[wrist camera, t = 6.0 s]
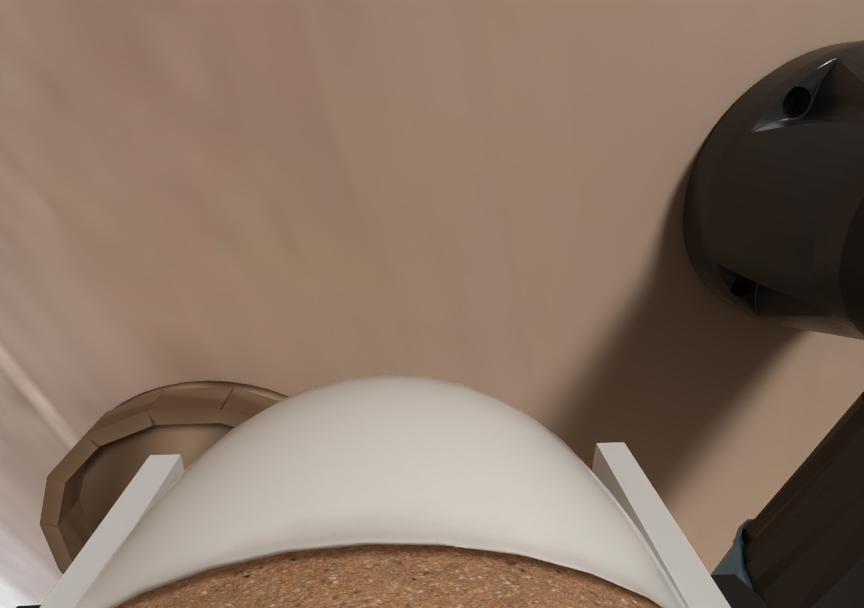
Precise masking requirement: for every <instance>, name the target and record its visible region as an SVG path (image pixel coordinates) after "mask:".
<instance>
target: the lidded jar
mask: <svg viewBox="0 0 864 608" xmlns="http://www.w3.org/2000/svg"><path fill="white" fill-rule="evenodd" d="M75 608H686V606H685V605H684V603H683V601H682V600H681V598H680V596H679V595H678V593H677V591H676V590H675V588H674V586H673V584H672V583H671V581H670V579H669V578H668V576H667V574H666V573H665V571H664V570H663V568H662V566H661V565H660V563H659V561H658V560H657V558H656V556H655V555H654V553H653V552H652V550H651V548H650V547H649V545H648V543H647V542H646V540H645V538H644V537H643V535H642V533H641V532H640V530H639V529H638V528H637V526H636V525H635V524H634V522H633V521H632V520H631V518H630V517H629V516H628V514H627V513H626V512H625V510H624V509H623V508H622V506H621V505H620V504H619V502H618V501H617V500H616V498H615V497H614V495H613V494H612V493H611V491H610V490H609V489H608V488H607V487H606V486H605V485H604V484H603V483H602V482H601V481H600V480H599V479H598V478H597V476H596V475H595V474H594V473H593V472H592V471H591V470H590V469H589V468H588V467H587V466H586V465H585V464H584V462H583V461H582V460H581V459H580V458H579V457H578V456H577V455H576V454H575V453H574V452H573V451H572V450H571V449H570V448H569V446H568V445H567V444H566V443H565V442H564V441H563V440H561V439H560V438H559V437H557V436H556V435H555V434H553V433H552V432H551V431H549V430H548V429H547V428H545V427H544V426H543V425H541V424H540V423H539V422H537V421H536V420H534V419H533V418H532V417H530V416H529V415H527V414H526V413H524V412H523V411H521V410H520V409H518V408H516V407H515V406H513V405H511V404H509V403H507V402H505V401H503V400H501V399H499V398H497V397H495V396H493V395H491V394H489V393H486V392H483V391H480V390H477V389H474V388H471V387H468V386H465V385H462V384H459V383H455V382H451V381H446V380H440V379H435V378H429V377H424V376H414V375H392V374H386V375H375V376H364V377H355V378H350V379H346V380H341V381H337V382H333V383H328V384H324V385H320V386H315V387H313V388H310V389H308V390H305V391H303V392H300V393H297V394H295V395H292V396H290V397H287V398H285V399H282V400H281V401H279V402H277V403H275V404H274V405H272V406H270V407H268V408H267V409H265V410H263V411H261V412H260V413H258V414H256V415H254V416H253V417H251V418H250V419H248V420H246V421H245V422H243V423H241V424H240V425H238V426H237V427H235V428H233V429H232V430H231V431H229V432H228V433H227V434H226V435H224V436H223V437H222V438H221V439H220V440H218V441H217V442H216V443H215V444H214V445H212V446H211V447H210V448H209V449H207V450H206V451H205V452H204V453H203V454H202V455H201V456H200V457H199V458H198V459H197V460H196V461H194V462H193V463H192V464H191V465H190V466H189V467H188V468H187V469H186V470H185V471H184V472H183V473H182V474H181V475H180V476H179V477H177V478H176V479H175V480H174V481H173V483H172V484H171V485H170V486H169V487H168V489H167V490H166V491H165V492H164V493H163V494H162V496H161V497H160V498H159V499H158V500H157V502H156V503H155V504H154V505H153V506H152V507H151V509H150V510H149V511H148V512H147V513H146V515H145V516H144V517H143V518H142V519H141V520H140V522H139V523H138V524H137V525H136V526H135V528H134V529H133V530H132V531H131V532H130V534H129V535H128V536H127V537H126V538H125V540H124V541H123V542H122V543H121V544H120V546H119V547H118V548H117V549H116V550H115V552H114V553H113V554H112V556H111V557H110V559H109V560H108V561H107V563H106V564H105V566H104V567H103V568H102V570H101V571H100V573H99V574H98V575H97V577H96V578H95V580H94V581H93V582H92V584H91V585H90V587H89V588H88V589H87V591H86V592H85V594H84V595H83V597H82V598H81V599H80V601H79V602H78V604H77V605H76V606H75Z"/></svg>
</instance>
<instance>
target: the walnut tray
mask: <svg viewBox="0 0 864 608" xmlns="http://www.w3.org/2000/svg"><path fill="white" fill-rule="evenodd" d="M287 397H288V396H285V395H282V394H280V393H277V392H274V391H271V390H268V389H264V388H260V387H256V386H252V385H247V384H240V383H233V382H222V381H197V382H184V383H178V384H173V385H168V386H163V387H159V388H156V389H153V390H150V391H147V392H144V393H141V394H139V395H137V396H135V397H133V398H131V399H129V400H127V401H125V402H123V403H122V404H120V405H119V406H117V407H116V408H114V409H113V410H110V411H108V412H107V413H105V414H104V415H103V416H102V417H101V418H100V420H99V421H98V422H97V423H96V424H95V425H94V426H93V427H92V428H91V429H90V430H89V431H88V432H87V433H86V434H85V435H84V436H83V438H82V439H81V440H80V441H79V442H78V443H77V444H76V445H75V446H74V447H73V449H72V450H71V451H70V452H69V453H68V454H67V455H66V456H65V457H64V458H63V460H62V461H61V462H60V463H59V464H58V465H57V466H56V467H55V468H54V469H53V471H52V472H51V473H50V474H49V475H48V477H47V482H46V488H45V495H44V501H43V507H42V513H41V520H40V526H41V528H42V531H43V533H44V535H45V538H46V540H47V542H48V545H49V547H50V549H51V552H52V554H53V557H54V559H55V561H56V564H57V566H58V568H59V570H60V571H61V572H62V573H63V574H64V573H65V572H66V570H67V569H68V568H69V566H70V565H71V564H72V562H73V561H74V559H75V558H76V557H77V555H78V554H79V552H80V551H81V550H82V548H83V547H84V546H85V544H86V543H87V541H88V540H89V539H90V537H91V536H92V535H93V533H94V532H95V530H96V529H97V528H98V526H99V525H100V523H101V522H102V521H103V519H104V518H105V517H106V515H107V514H108V512H109V511H110V510H111V508H112V507H113V506H114V504H115V503H116V501H117V500H118V499H119V497H120V496H121V494H122V493H123V492H124V490H125V489H126V488H127V486H128V485H129V483H130V482H131V481H132V479H133V478H134V477H135V475H136V474H137V472H138V471H139V470H140V468H141V467H142V465H143V464H144V463H145V461H146V460H147V459H148V457H149V456H150V455H174V454H181V458H182V462H183V466H184V470H186V469H187V468H188V467H189V466H190V465H191V464H192V463H193V462H194V461H196V460H197V459H198V458H199V457H200V456H201V455H202V454H203V453H204V452H205V451H206V450H207V449H209V448H210V447H211V446H212V445H214V444H215V443H216V442H217V441H218V440H220V439H221V438H222V437H223V436H224V435H226V434H227V433H228V432H229V431H231V430H232V429H233V428H235V427H237V426H238V425H240V424H241V423H243V422H245V421H246V420H248V419H250V418H251V417H253V416H254V415H256V414H258V413H260V412H261V411H263V410H265V409H267V408H268V407H270V406H272V405H274V404H275V403H277V402H279V401H281V400H282V399H285V398H287Z"/></svg>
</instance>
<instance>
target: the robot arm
mask: <svg viewBox="0 0 864 608" xmlns="http://www.w3.org/2000/svg"><path fill="white" fill-rule="evenodd" d="M684 235H685V242H686V247H687V251H688V254H689V257H690V260H691V262H692V265H693V266H694V268H695V270H696V272H697V274H698V275H699V277H700V278H701V280H702V281H703V282H704V283H705V285H706V286H707V287H708V288H709V289H710V290H711V291H712V292H714V293H715V294H716V295H717V296H719V297H720V298H722V299H723V300H725V301H726V302H728V303H730V304H731V305H733V306H735V307H736V308H738V309H739V310H741V311H743V312H745V313H746V314H748V315H750V316H752V317H755V318H757V319H760V320H762V321H765V322H768V323H772V324H775V325H780V326H786V327H792V328H798V329H803V330H809V331H815V332H821V333H827V334H832V335H838V336H844V337H850V338H855V339H861V340H864V40H863V41H855V42H847V43H840V44H835V45H830V46H827V47H823V48H820V49H817V50H814V51H811V52H808V53H806V54H804V55H801V56H799V57H797V58H795V59H793V60H791V61H789V62H787V63H786V64H784V65H782V66H781V67H779V68H777V69H776V70H774V71H773V72H771V73H770V74H768V75H767V76H765V77H764V78H763V79H762V80H760V81H759V82H758V83H756V84H755V85H754V86H753V87H752V88H751V89H750V90H748V91H747V92H746V93H745V94H744V95H743V96H742V97H741V98H740V99H739V100H738V101H737V102H736V103H735V104H734V105H733V107H732V108H731V109H730V110H729V111H728V112H727V114H726V115H725V116H724V117H723V119H722V120H721V121H720V123H719V124H718V125H717V127H716V128H715V130H714V131H713V133H712V134H711V136H710V138H709V139H708V141H707V143H706V144H705V146H704V148H703V150H702V152H701V154H700V156H699V158H698V160H697V163H696V165H695V168H694V170H693V173H692V176H691V179H690V182H689V186H688V190H687V195H686V200H685V208H684ZM184 471H185V470H184V466H183V462H182V458H181V454H174V455H150V456H149V457H148V459H147V460H146V461H145V463H144V464H143V465H142V467H141V468H140V470H139V471H138V472H137V474H136V475H135V477H134V478H133V479H132V481H131V482H130V483H129V485H128V486H127V488H126V489H125V490H124V492H123V493H122V494H121V496H120V497H119V499H118V500H117V501H116V503H115V504H114V506H113V507H112V508H111V510H110V511H109V512H108V514H107V515H106V517H105V518H104V519H103V521H102V522H101V523H100V525H99V526H98V528H97V529H96V530H95V532H94V533H93V535H92V536H91V537H90V539H89V540H88V541H87V543H86V544H85V546H84V547H83V548H82V550H81V551H80V552H79V554H78V555H77V557H76V558H75V559H74V561H73V562H72V564H71V565H70V566H69V568H68V569H67V570H66V572H65V573H64V575H63V576H62V577H61V579H60V580H59V581H58V583H57V584H56V586H55V587H54V588H53V590H52V591H51V593H50V594H49V595H48V597H47V598H46V599H45V601H44V602H43V604H42V605H32V606H17V607H16V608H75V606H76V605H77V604H78V602H79V601H80V599H81V598H82V597H83V595H84V594H85V592H86V591H87V589H88V588H89V587H90V585H91V584H92V582H93V581H94V580H95V578H96V577H97V575H98V574H99V573H100V571H101V570H102V568H103V567H104V566H105V564H106V563H107V561H108V560H109V559H110V557H111V556H112V554H113V553H114V552H115V550H116V549H117V548H118V547H119V546H120V544H121V543H122V542H123V541H124V540H125V538H126V537H127V536H128V535H129V534H130V532H131V531H132V530H133V529H134V528H135V526H136V525H137V524H138V523H139V522H140V520H141V519H142V518H143V517H144V516H145V515H146V513H147V512H148V511H149V510H150V509H151V507H152V506H153V505H154V504H155V503H156V502H157V500H158V499H159V498H160V497H161V496H162V494H163V493H164V492H165V491H166V490H167V489H168V487H169V486H170V485H171V484H172V483H173V481H174V480H175V479H176V478H177V477H179V476H180V475H181V474H182V473H183V472H184ZM591 471H592V472H593V473H594V474H595V475H596V476H597V478H598V479H599V480H600V481H601V482H602V483H603V484H604V485H605V486H606V487H607V488H608V489H609V490H610V491H611V493H612V494H613V495H614V497H615V498H616V500H617V501H618V502H619V504H620V505H621V506H622V508H623V509H624V510H625V512H626V513H627V514H628V516H629V517H630V518H631V520H632V521H633V522H634V524H635V525H636V526H637V528H638V529H639V530H640V532H641V533H642V535H643V537H644V538H645V540H646V542H647V543H648V545H649V547H650V548H651V550H652V552H653V553H654V555H655V556H656V558H657V560H658V561H659V563H660V565H661V566H662V568H663V570H664V571H665V573H666V574H667V576H668V578H669V579H670V581H671V583H672V584H673V586H674V588H675V590H676V591H677V593H678V595H679V596H680V598H681V600H682V601H683V603H684V605H685V606H686V608H864V392H863V393H862V394H861V395H860V396H859V397H858V398H857V400H856V401H855V402H854V403H853V404H852V405H851V407H850V408H849V409H848V410H847V411H846V413H845V414H844V415H843V416H842V417H841V419H840V420H839V421H838V422H837V423H836V424H835V426H834V427H833V428H832V429H831V430H830V432H829V433H828V434H827V435H826V436H825V438H824V439H823V440H822V441H821V442H820V443H819V445H818V446H817V447H816V448H815V449H814V451H813V452H812V453H811V454H810V455H809V456H808V458H807V459H806V460H805V461H804V462H803V463H802V465H801V466H800V467H799V468H798V469H797V470H796V472H795V473H794V474H793V475H792V476H791V477H790V478H789V480H788V481H787V482H786V483H785V484H784V485H783V487H782V488H781V489H780V490H779V491H778V492H777V494H776V495H775V496H774V497H773V498H772V499H771V501H770V502H769V503H768V504H767V505H766V506H765V507H764V509H763V510H762V511H761V512H760V513H759V514H758V516H757V517H756V518H755V519H753V520H752V519H748V520H746V521H745V522H744V523H743V524H742V525H741V526H740V527H739V528H738V531H737V534H736V537H735V539H734V540H733V545H732V547H731V548H730V550H729V551H728V552H727V554H726V555H725V556H724V558H723V559H722V560H721V562H720V563H719V564H718V566H717V567H716V568H715V570H714V571H713V572H712V574H711V575H710V574H709V573H708V571H707V570H706V568H705V566H704V565H703V563H702V562H701V560H700V559H699V557H698V556H697V554H696V553H695V551H694V549H693V548H692V546H691V545H690V543H689V542H688V540H687V539H686V537H685V536H684V534H683V532H682V531H681V529H680V528H679V526H678V525H677V523H676V522H675V520H674V519H673V517H672V515H671V514H670V512H669V511H668V509H667V508H666V506H665V505H664V503H663V502H662V500H661V498H660V497H659V495H658V494H657V492H656V491H655V489H654V488H653V486H652V485H651V483H650V481H649V480H648V478H647V477H646V475H645V474H644V472H643V471H642V469H641V468H640V466H639V464H638V463H637V461H636V460H635V458H634V457H633V455H632V454H631V452H630V451H629V449H628V447H627V446H626V444H625V443H624V442H618V443H596V448H595V453H594V459H593V465H592V470H591Z"/></svg>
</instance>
